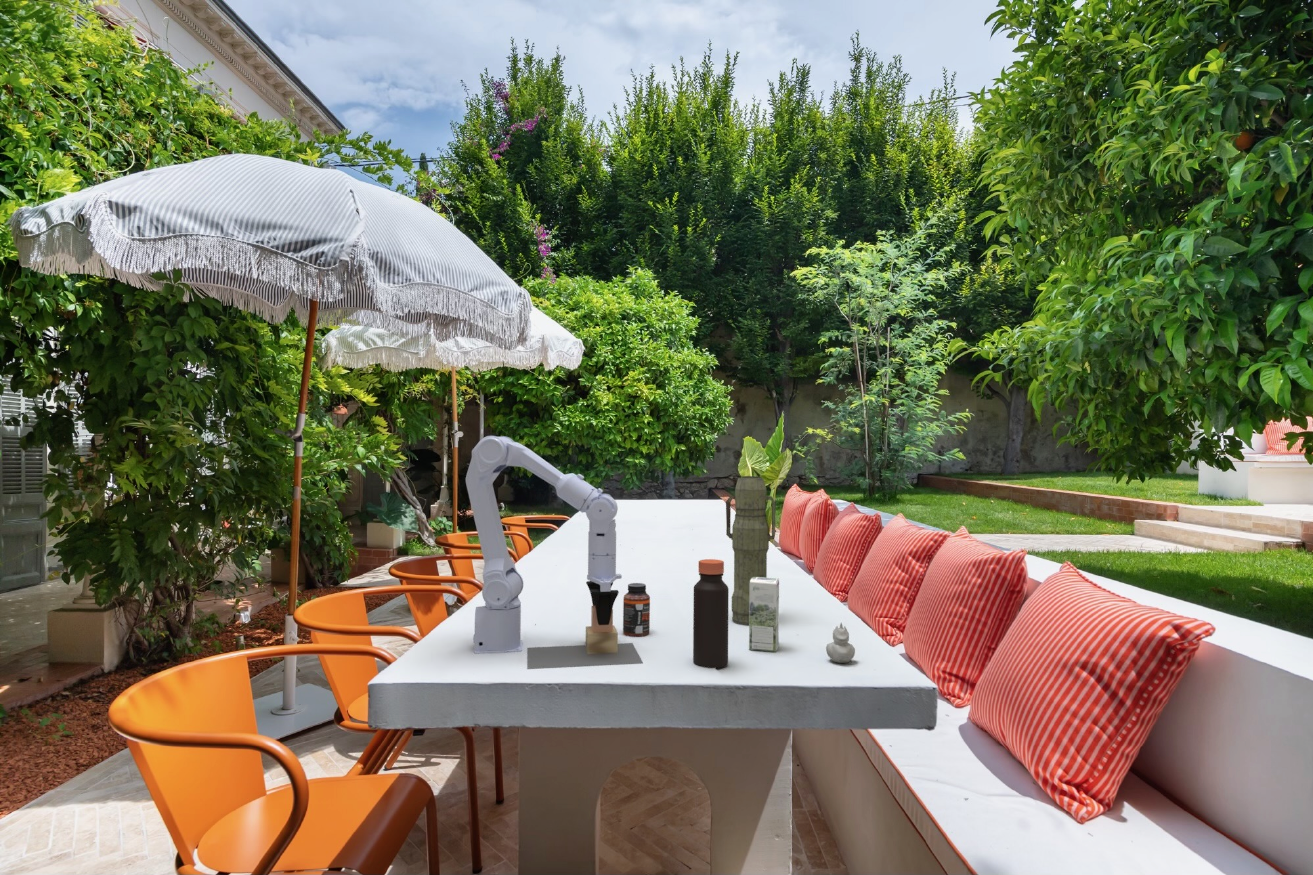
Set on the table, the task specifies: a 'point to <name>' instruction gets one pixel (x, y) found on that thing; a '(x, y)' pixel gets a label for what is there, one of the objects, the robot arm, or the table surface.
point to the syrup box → (763, 614)
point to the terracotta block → (596, 626)
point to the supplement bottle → (636, 611)
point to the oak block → (601, 641)
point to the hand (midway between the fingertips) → (601, 619)
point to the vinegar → (710, 616)
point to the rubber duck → (840, 646)
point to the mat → (579, 656)
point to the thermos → (748, 540)
